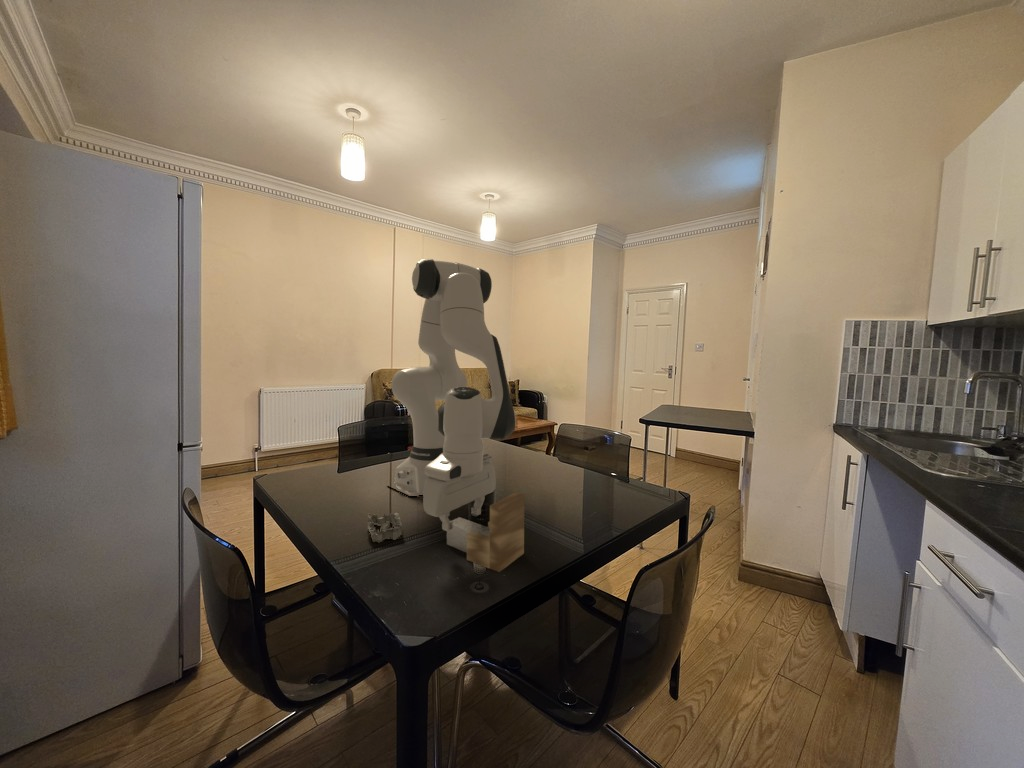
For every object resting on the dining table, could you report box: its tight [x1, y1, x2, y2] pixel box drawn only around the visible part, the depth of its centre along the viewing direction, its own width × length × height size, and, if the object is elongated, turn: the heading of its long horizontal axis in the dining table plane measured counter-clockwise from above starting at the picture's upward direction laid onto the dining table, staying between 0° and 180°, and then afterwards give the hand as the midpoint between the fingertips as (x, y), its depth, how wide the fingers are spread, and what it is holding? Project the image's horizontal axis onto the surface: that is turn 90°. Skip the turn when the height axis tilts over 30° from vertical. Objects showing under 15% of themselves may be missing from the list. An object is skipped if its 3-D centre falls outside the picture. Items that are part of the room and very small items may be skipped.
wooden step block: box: [466, 492, 525, 573], centre depth 84 cm, size 8×9×13 cm
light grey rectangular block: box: [446, 516, 490, 554], centre depth 87 cm, size 14×4×6 cm, turn 52°
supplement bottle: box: [468, 488, 496, 527], centre depth 102 cm, size 7×7×12 cm
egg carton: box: [367, 512, 403, 540], centre depth 96 cm, size 11×8×4 cm
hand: (462, 522), depth 89 cm, fingers open, 8 cm apart
